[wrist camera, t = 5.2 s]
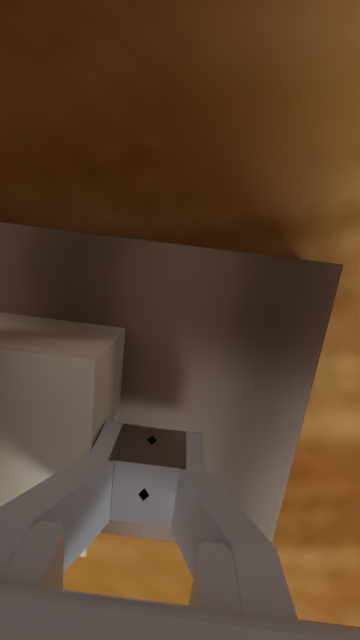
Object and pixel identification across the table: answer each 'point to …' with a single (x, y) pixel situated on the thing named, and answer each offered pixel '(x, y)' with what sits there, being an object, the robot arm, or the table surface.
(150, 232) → the table surface
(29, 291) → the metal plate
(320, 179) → the table surface
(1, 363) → the block
